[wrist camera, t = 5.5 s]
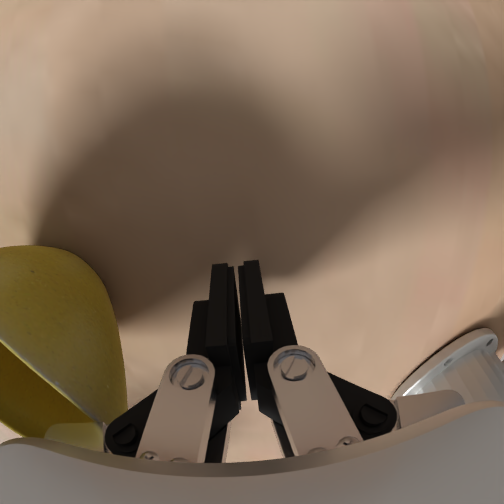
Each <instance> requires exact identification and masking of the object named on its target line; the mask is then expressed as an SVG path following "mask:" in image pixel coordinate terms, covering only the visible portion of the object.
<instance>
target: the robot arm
mask: <svg viewBox="0 0 504 504" xmlns="http://www.w3.org/2000/svg"><path fill="white" fill-rule="evenodd" d="M238 274H239V292H240V309H241V318H240V311H239V304H238V296H237V289H236V281H235V274H234V267H233V266H232V267H228V264H227V263H223V264H213V265H212V272H211V283H210V293H209V300H203V301H195V302H194V304H193V310H192V317H191V323H190V330H189V337H188V345H187V352H186V355H184V356H180V357H178V358H176V359H175V360H173V361H172V362H171V363H170V364H169V365H168V366H167V368H166V370H165V371H164V374H163V377H162V380H161V383H160V385H159V388H158V389H157V390H156V391H155V392H153V393H152V394H150V395H149V396H148V397H146V398H145V399H143V400H142V401H141V402H139V403H138V404H136V405H135V406H133V407H132V408H130V409H129V410H128V411H126V412H125V413H123V414H122V415H120V416H119V417H117V418H116V419H114V420H113V421H112V422H111V423H110V424H105V423H104V422H92V423H59V424H54V425H52V426H51V427H49V429H48V430H47V431H46V433H45V437H44V439H42V438H34V437H22V438H15V439H11V440H8V441H5V442H3V443H1V444H0V504H504V360H503V361H502V362H501V360H500V359H499V358H498V356H497V355H496V353H495V352H496V350H497V346H498V338H497V336H496V335H495V334H494V332H493V331H492V330H491V329H489V328H481V329H477V330H474V331H472V332H469V333H467V334H465V335H464V336H462V337H460V338H458V339H457V340H455V341H454V342H452V343H451V344H449V345H448V346H446V347H445V348H443V349H442V350H441V351H439V352H438V353H437V354H435V355H434V356H433V357H431V358H430V359H429V360H428V361H427V362H425V363H424V364H423V365H422V366H421V367H420V368H418V369H417V370H416V371H415V372H414V373H413V374H412V375H411V376H410V377H409V378H408V379H407V380H406V381H405V382H404V383H403V384H402V385H401V386H400V387H399V388H398V390H397V391H396V392H395V393H394V395H393V396H392V398H391V399H390V400H388V399H386V398H384V397H382V396H380V395H378V394H375V393H373V392H371V391H368V390H366V389H364V388H361V387H359V386H357V385H355V384H352V383H350V382H348V381H346V380H344V379H341V378H339V377H337V376H335V375H333V374H331V373H329V372H327V371H326V369H325V367H324V365H323V363H322V362H321V360H320V358H319V356H318V355H317V354H316V353H315V352H314V351H313V350H311V349H310V348H307V347H304V346H299V345H298V344H297V340H296V336H295V332H294V329H293V325H292V321H291V318H290V314H289V310H288V307H287V303H286V299H285V296H284V293H275V294H266V295H265V294H264V288H263V283H262V277H261V272H260V266H259V261H258V260H253V261H244V265H242V266H238ZM241 325H242V326H241ZM242 339H243V341H242ZM243 349H244V355H245V362H246V368H247V375H248V381H249V387H250V393H251V399H252V400H258V405H259V411H260V412H261V413H263V414H265V415H266V416H268V417H269V418H271V423H272V426H273V429H274V432H275V435H276V438H277V441H278V444H279V447H280V450H281V453H282V456H283V458H281V459H273V460H264V461H252V462H237V463H226V457H227V450H228V443H229V436H230V429H231V420H232V419H233V418H234V417H235V416H236V415H237V414H238V413H239V410H241V401H246V400H247V398H246V384H245V370H244V356H243Z"/></svg>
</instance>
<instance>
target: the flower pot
mask: <svg viewBox="0 0 504 504" xmlns="http://www.w3.org/2000/svg"><path fill="white" fill-rule="evenodd" d="M126 411H128V406H127V390H126V379H125V369H124V361H123V354H122V348H121V342H120V336H119V331H118V326H117V322H116V318H115V314H114V311H113V307H112V304H111V301H110V298H109V295H108V293H107V290H106V288H105V286H104V284H103V282H102V281H101V279H100V278H99V276H98V275H97V274H96V272H95V271H94V270H93V269H92V268H91V267H90V266H89V265H88V264H87V263H86V262H85V261H83V260H82V259H81V258H79V257H78V256H76V255H75V254H73V253H71V252H68V251H66V250H63V249H58V248H53V247H47V246H35V245H25V246H10V247H3V248H0V422H1V423H3V424H4V425H5V426H7V427H8V428H9V429H11V430H12V431H14V432H15V433H17V434H19V435H20V436H22V437H34V438H42V439H44V437H45V433H46V431H47V430H48V429H49V427H51V426H52V425H54V424H59V423H92V422H104V423H105V424H110V423H111V422H112V421H113V420H114V419H116V418H117V417H119V416H120V415H122V414H123V413H125V412H126Z"/></svg>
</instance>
